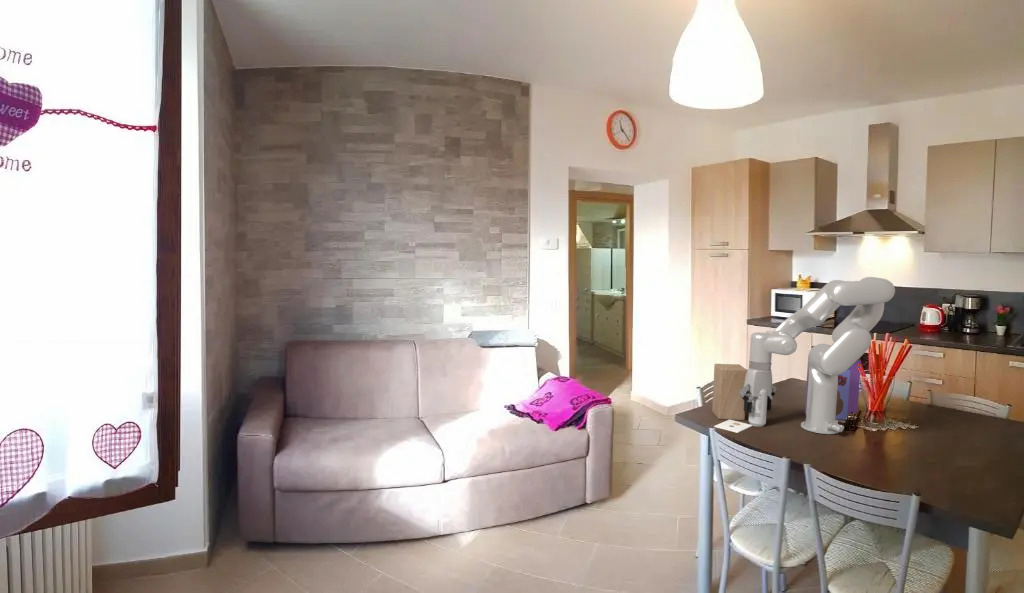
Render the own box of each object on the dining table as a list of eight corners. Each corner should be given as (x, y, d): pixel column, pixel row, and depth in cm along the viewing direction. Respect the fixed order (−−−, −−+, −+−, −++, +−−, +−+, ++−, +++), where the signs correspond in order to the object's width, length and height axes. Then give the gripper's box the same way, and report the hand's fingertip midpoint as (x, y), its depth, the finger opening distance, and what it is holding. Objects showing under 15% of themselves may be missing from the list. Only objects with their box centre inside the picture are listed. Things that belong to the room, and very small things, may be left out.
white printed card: (752, 425, 214) (752, 424, 214) (737, 432, 206) (737, 431, 206) (729, 420, 220) (729, 419, 220) (714, 426, 212) (714, 425, 212)
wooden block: (737, 413, 230) (739, 364, 228) (745, 420, 220) (747, 369, 218) (711, 412, 231) (714, 363, 229) (718, 419, 221) (720, 368, 219)
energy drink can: (769, 426, 214) (771, 386, 212) (756, 427, 212) (759, 388, 210) (757, 421, 219) (759, 382, 218) (744, 422, 217) (747, 384, 216)
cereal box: (807, 417, 226) (811, 357, 223) (804, 413, 230) (808, 355, 228) (856, 421, 222) (861, 360, 219) (852, 417, 226) (856, 357, 224)
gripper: (769, 362, 220) (766, 405, 222) (734, 365, 213) (732, 410, 215) (785, 366, 213) (782, 411, 215) (750, 369, 207) (747, 415, 208)
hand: (757, 410), depth 215 cm, fingers open, 9 cm apart
